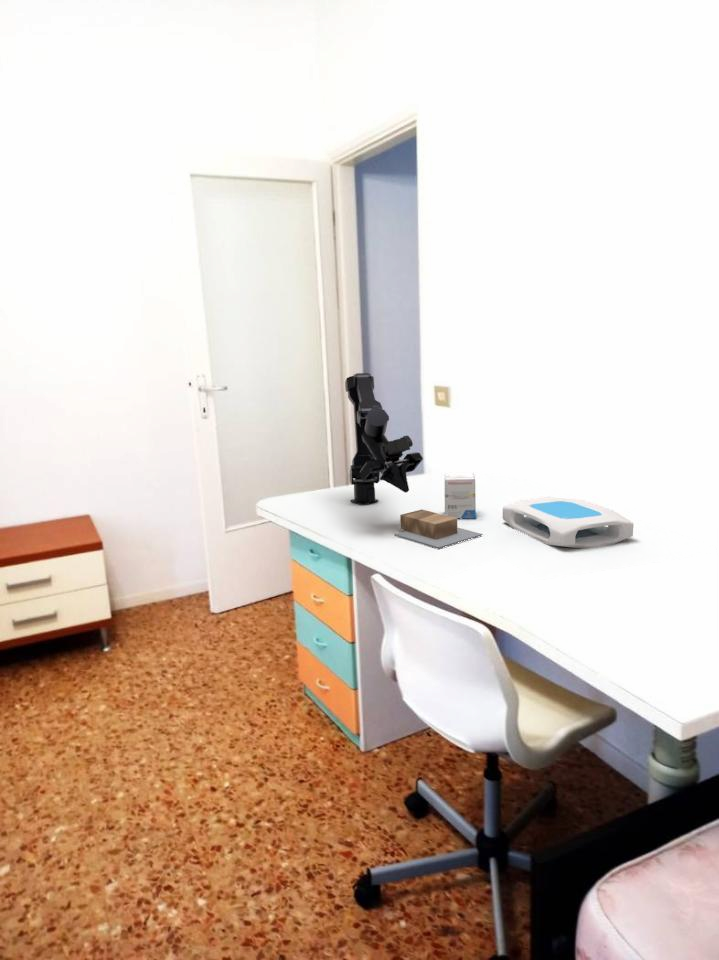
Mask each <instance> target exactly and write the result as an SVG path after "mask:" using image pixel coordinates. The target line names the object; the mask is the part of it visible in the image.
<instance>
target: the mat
mask: <svg viewBox="0 0 719 960" xmlns="http://www.w3.org/2000/svg"><path fill="white" fill-rule="evenodd" d="M481 535H483V533H481V532H477V531H472V530H469V529H465V528H461V527H458V526H457V533H456V534H453V535H449V536H446V537H443V538H439V539H436V540H435V539H432V538H429V537H425V536H422V535H418V534H415V533H411V532H408V531H405V530H403V531H400V532H398V533H397V532H396V533H394V536H395V537H397V538H401V539H404V540H407V541H411V542H413V541H414V543H417V544H420V545H423V544H424V546H426V545H427V547H430V546H432V547H431V548H433V547H435V548H434V549H436V548H438V549H437V550H441V549H444V548H443V547H445V546H448V547H450V546H449V545H451V546H453V545H452V544H454V545H456V544H455V543H458V542H461V541H464V540H467V541H469V540H468V539H471V538H474V537H477V538H479V537H478V536H480V537H482V536H481ZM483 536H484V535H483ZM474 539H475V538H474ZM471 540H472V539H471ZM464 542H465V541H464ZM461 543H462V542H461ZM458 544H459V543H458ZM440 548H441V549H440ZM445 548H446V547H445Z"/></svg>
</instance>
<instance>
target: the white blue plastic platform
mask: <svg viewBox="0 0 719 960" xmlns="http://www.w3.org/2000/svg"><path fill="white" fill-rule="evenodd" d="M502 520H503V521H504V522H505V523H507V524H508V525H509V526H510V527H511V528H512V529H513V528H514V530H515V529H516V530H515V531H517V530H518V531H517V532H519V531H520V532H519V533H521V532H522V534H523V533H524V534H523V535H525V534H526V536H527V535H528V537H530V538H532V539H533V540H535V541H538V542H540V543H542V544H544V545H548V546H553V547H554V546H556V547H563V548H575V549H590V548H596V547H598V548H599V547H603V546H611V545H615V544H618V543H620V542H621V541H622V542H623V541H624V540H626V539H629V538H631V537H634V522H632V521H631V520H630V519H628V518H626V517H625V516H623V515H621V514H620V513H619V512H617V511H615V510H613V509H610V508H608V507H605V506H602V505H598V504H597V503H596V504H595V503H593V502H590V501H587V500H582V499H576V498H575V499H574V498H566V497H565V498H563V497H555V496H543V497H541V496H540V497H534V498H527V499H526V498H524V499H519V500H517V501H515V502H513V503H509V504H507V505H505V506H502ZM539 525H544V526H547V527H548V530H549V533H548V532H546V531H544V530H542V529H540V528H538V527H536V526H539ZM583 530H587V531H590V532H592V533H595V535H589V536H582V537H576V535H577V533H578V531H583Z"/></svg>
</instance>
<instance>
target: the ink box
mask: <svg viewBox="0 0 719 960" xmlns="http://www.w3.org/2000/svg"><path fill="white" fill-rule="evenodd" d="M476 509H477V508H476V476H475V474H474V473H470V472H469V473H462V472H461V473H451V472H450V473H444V515H446V516H450V517H454V518H457V520H459V519H458V518H462V519H461V520H464V519H463V518H476V519H477V515H476Z"/></svg>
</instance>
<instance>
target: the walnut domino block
mask: <svg viewBox="0 0 719 960" xmlns="http://www.w3.org/2000/svg"><path fill="white" fill-rule="evenodd" d="M399 522H400V531H401V530H402V531H408V532H411V533H415V534H418V535H422V536H425V537H429V538H432V539H435V540H436V539H439V538H443V537H446V536H449V535H453V534H456V533H457V527H458V519H457V518H454V517H450V516H446V515H445V514H441V513H438V512H433V511H430V510H427V509H419V510H414V511H410V512H407V513H402V514H400V521H399Z"/></svg>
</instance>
